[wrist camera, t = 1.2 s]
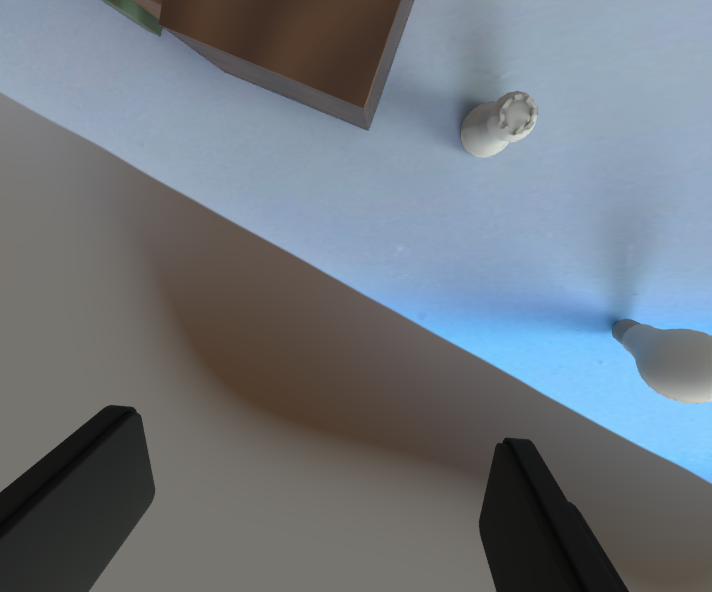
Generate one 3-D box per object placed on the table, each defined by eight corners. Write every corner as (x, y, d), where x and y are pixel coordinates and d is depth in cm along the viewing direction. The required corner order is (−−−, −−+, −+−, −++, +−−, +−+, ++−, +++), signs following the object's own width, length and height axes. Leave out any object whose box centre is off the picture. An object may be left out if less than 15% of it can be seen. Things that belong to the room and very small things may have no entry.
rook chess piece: (456, 157, 31) (480, 149, 24) (462, 103, 30) (490, 76, 22) (504, 158, 31) (545, 150, 24) (513, 104, 30) (559, 77, 22)
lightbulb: (663, 317, 35) (785, 374, 24) (621, 361, 37) (716, 432, 26) (617, 289, 34) (721, 335, 24) (576, 335, 36) (656, 397, 26)
